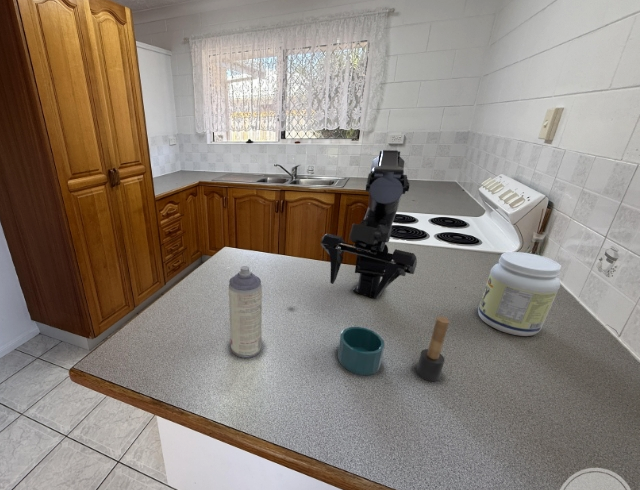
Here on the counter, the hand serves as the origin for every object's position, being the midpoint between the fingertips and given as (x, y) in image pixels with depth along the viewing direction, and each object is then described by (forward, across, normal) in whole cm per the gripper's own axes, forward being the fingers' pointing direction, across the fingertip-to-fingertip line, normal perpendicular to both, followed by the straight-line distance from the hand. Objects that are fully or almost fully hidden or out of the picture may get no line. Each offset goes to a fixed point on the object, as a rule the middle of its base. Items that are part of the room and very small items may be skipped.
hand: (352, 290), depth 65 cm
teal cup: (+13, +4, +6) cm, 15 cm away
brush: (+10, +17, +10) cm, 22 cm away
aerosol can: (+20, -17, -2) cm, 27 cm away
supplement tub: (-9, +29, +34) cm, 45 cm away
